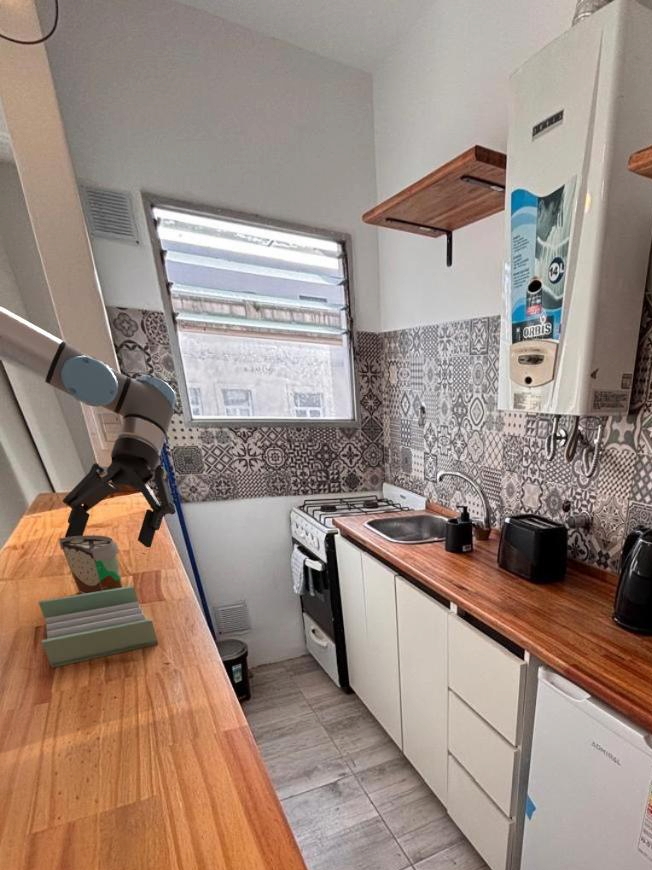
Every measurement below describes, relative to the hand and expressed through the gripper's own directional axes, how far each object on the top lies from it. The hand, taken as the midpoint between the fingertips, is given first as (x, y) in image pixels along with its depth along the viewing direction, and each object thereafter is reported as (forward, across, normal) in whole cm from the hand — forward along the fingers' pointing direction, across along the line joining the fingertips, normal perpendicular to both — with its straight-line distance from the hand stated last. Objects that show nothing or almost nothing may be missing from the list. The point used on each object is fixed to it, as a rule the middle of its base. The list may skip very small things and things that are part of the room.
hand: (108, 542), depth 96 cm
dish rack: (+20, -10, +8) cm, 24 cm away
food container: (+8, 0, -4) cm, 9 cm away
